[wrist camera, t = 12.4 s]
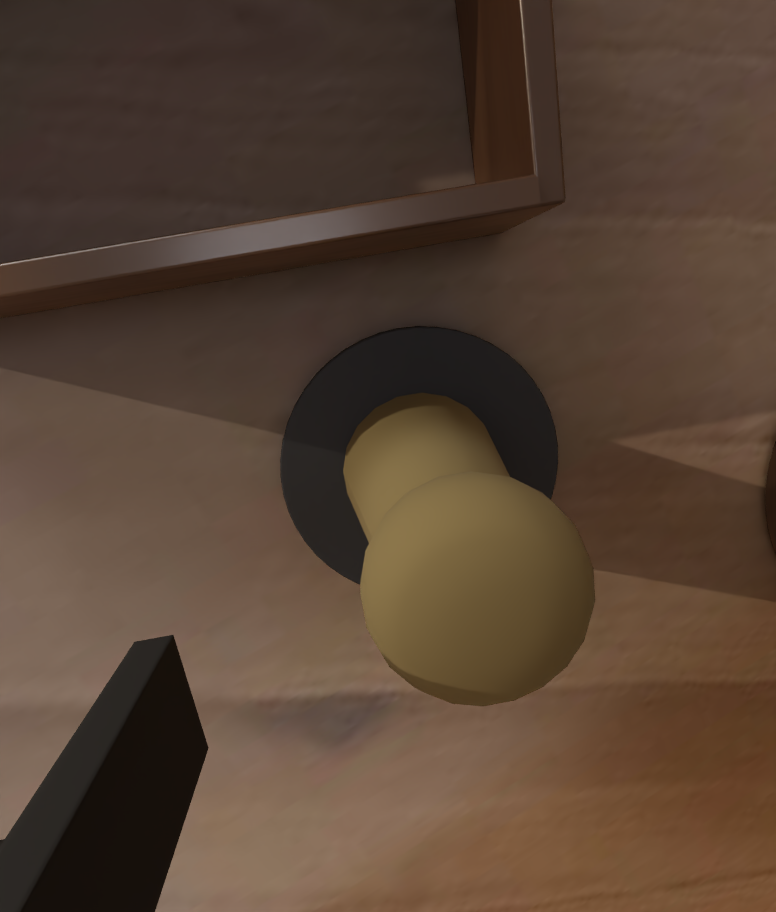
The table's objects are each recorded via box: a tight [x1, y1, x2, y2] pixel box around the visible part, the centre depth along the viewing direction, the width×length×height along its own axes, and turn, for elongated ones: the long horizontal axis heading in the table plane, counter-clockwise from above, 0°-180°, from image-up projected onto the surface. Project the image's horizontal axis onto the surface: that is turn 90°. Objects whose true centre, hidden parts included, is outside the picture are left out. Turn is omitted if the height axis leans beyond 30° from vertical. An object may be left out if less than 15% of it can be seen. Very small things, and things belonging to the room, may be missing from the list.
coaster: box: [280, 326, 558, 584], centre depth 22 cm, size 11×11×1 cm
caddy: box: [0, 0, 565, 318], centre depth 15 cm, size 23×12×6 cm, turn 100°
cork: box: [343, 393, 595, 706], centre depth 16 cm, size 6×6×11 cm
